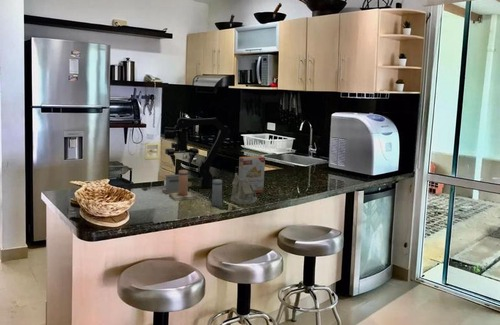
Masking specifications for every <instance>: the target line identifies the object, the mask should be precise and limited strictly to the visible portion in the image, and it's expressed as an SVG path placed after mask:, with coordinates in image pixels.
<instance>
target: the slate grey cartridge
mask: <svg viewBox="0 0 500 325" xmlns="http://www.w3.org/2000/svg"><path fill="white" fill-rule="evenodd" d="M212 187H213V188H211V189H212V196H211V200H212V201H211V206H212V207H221V206H223V205H222V201H223V200H222V199H223V179H220V178H219V179H217V178H216V179H214V178H213V179H212Z"/></svg>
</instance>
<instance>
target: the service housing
mask: <svg viewBox="0 0 500 325" xmlns="http://www.w3.org/2000/svg"><path fill="white" fill-rule="evenodd" d="M162 193H164V194H165V195H169V193H179V174H165V189H162Z"/></svg>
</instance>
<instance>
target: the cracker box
mask: <svg viewBox="0 0 500 325" xmlns="http://www.w3.org/2000/svg"><path fill="white" fill-rule="evenodd" d="M238 160H239V161H238V178H240V179H242V180H243V182H245V183H246V181H249V184H251V185H255V188H256V194H264V187H265V186H264V184H265V167H266V166H265V165H266V157H264V156H261V155H258V156H256V155H255V156H239V158H238Z"/></svg>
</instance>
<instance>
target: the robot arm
mask: <svg viewBox="0 0 500 325" xmlns="http://www.w3.org/2000/svg"><path fill="white" fill-rule="evenodd" d="M209 125H211V126H213V125H214V126H215V128H217V129H218V130H219V131H218V133H217V138H216V139H215V142H214V143H213V144H212V147H211V148H210V150H209V152H208V154H207V156H206V158H204V160H203V159H202V160H200V163H199V165H198V169H197V170H198V173H199V175H201V176H200V179H199V187H200V188H202V189H204V190H205V189H212V188H213V184H212V183H213V179H214V178H213V173H212V171H210V170H211V166H212V162H213V161H214V159H215V157H216V155H217V154H218V151H219V150H220V149H221V146H222V144H223V143H224V141H225V140H227V138H228V137H229V136H230V134H231V128H230V127H228V126H227V125H224V124H223V123H222V122H220V121H219V119H218V118H216V117H210V118H208V117H207V118H205V117H204V118H189V117H180V118H178V119H177V123H176V124H175V125H174V127H168V126H165V127H164V140H175V138H176V139H177V140H176V142H171V145H170V146H171V148H166V149H165V154H166V155H167V156H169V157H170V159H171V161H172V164H173V167H176V154H185V153H186V154H188V156H189V157H188V166H190V167H191V164H192V162H193V160H194V158H195V156H197V155H198V154H199V153H200V150H199V149H198V148H197V147H190V148H188V143H189V141H188V133H191V129H190V127H193V126H209Z"/></svg>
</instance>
